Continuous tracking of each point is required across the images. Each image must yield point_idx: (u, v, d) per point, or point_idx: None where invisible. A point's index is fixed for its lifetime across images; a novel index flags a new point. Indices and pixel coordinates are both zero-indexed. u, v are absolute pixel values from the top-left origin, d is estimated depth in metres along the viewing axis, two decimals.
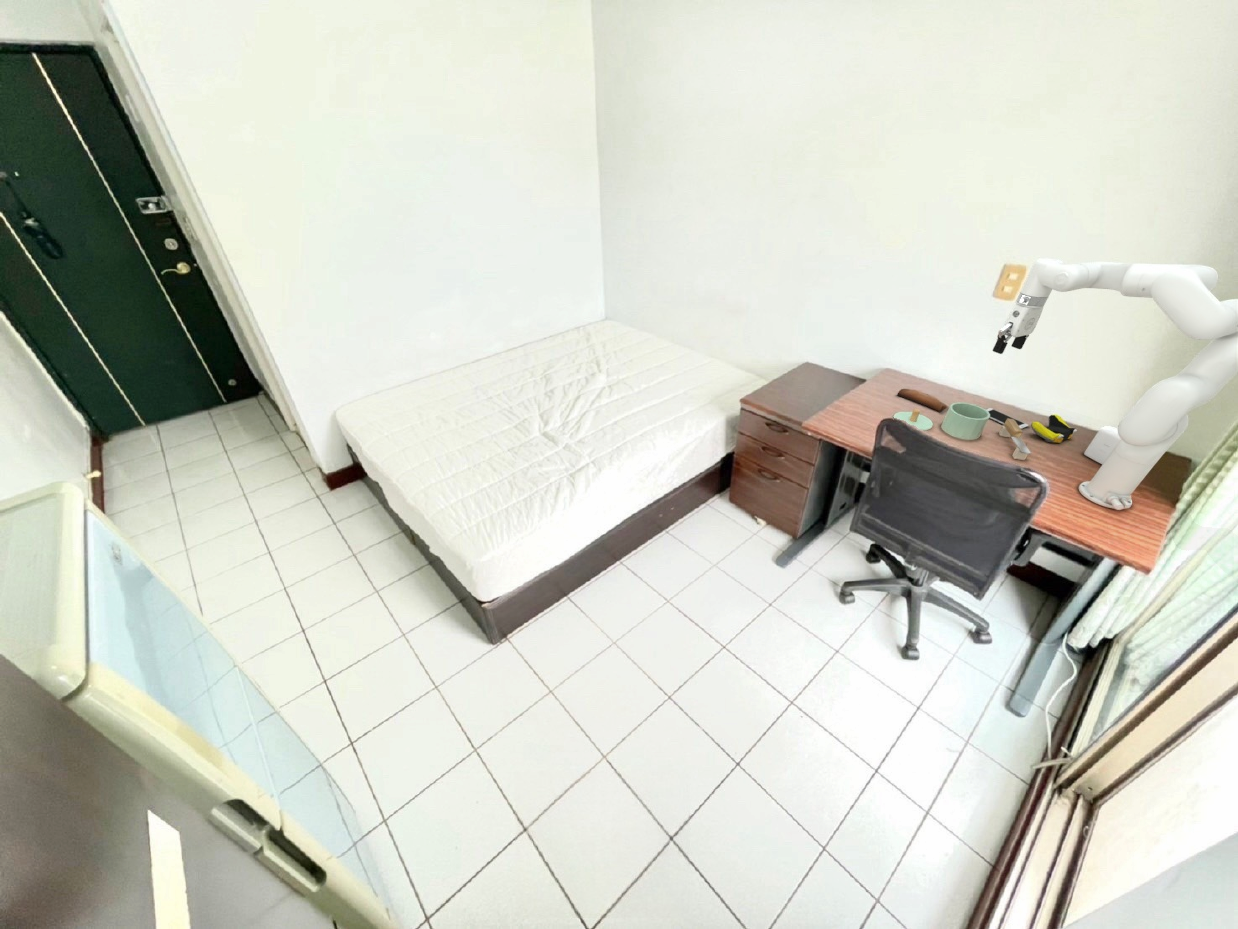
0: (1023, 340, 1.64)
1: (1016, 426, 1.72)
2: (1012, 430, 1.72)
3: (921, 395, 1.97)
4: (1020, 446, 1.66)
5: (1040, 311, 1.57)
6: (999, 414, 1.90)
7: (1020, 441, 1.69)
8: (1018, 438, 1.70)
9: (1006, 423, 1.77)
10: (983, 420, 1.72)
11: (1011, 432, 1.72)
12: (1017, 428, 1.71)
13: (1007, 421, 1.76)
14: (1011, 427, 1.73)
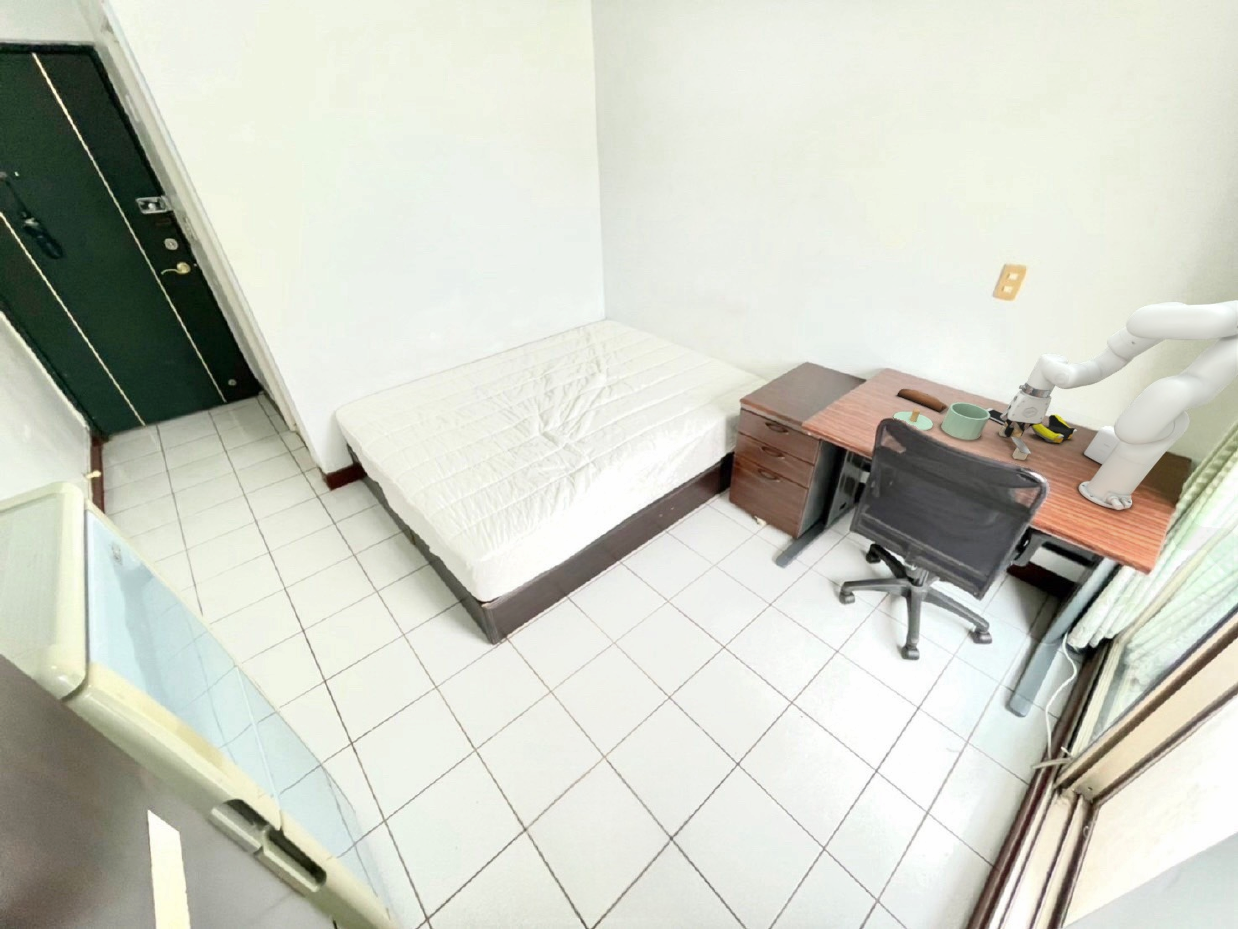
0: None
1: (1016, 426, 1.72)
2: None
3: (921, 395, 1.97)
4: (1020, 446, 1.66)
5: (1045, 403, 1.63)
6: (999, 414, 1.90)
7: (1020, 441, 1.69)
8: (1018, 438, 1.70)
9: (1006, 423, 1.77)
10: (983, 420, 1.72)
11: None
12: (1017, 428, 1.71)
13: None
14: None
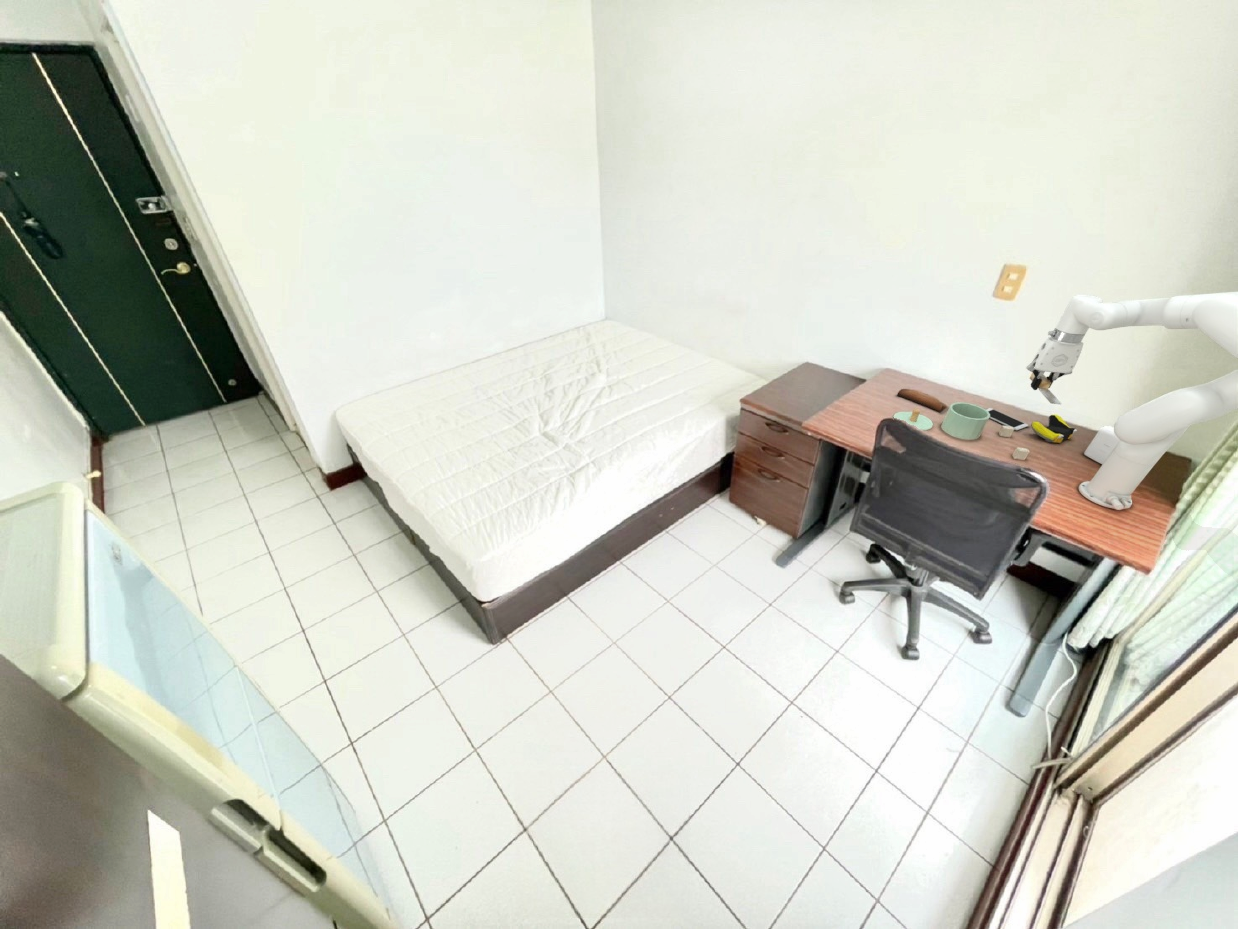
0: None
1: (1044, 378, 1.61)
2: None
3: (921, 395, 1.97)
4: (1049, 397, 1.55)
5: (1076, 350, 1.51)
6: (999, 414, 1.90)
7: (1049, 392, 1.58)
8: (1046, 390, 1.59)
9: (1032, 376, 1.66)
10: (983, 420, 1.72)
11: None
12: (1045, 379, 1.60)
13: (1033, 374, 1.65)
14: None
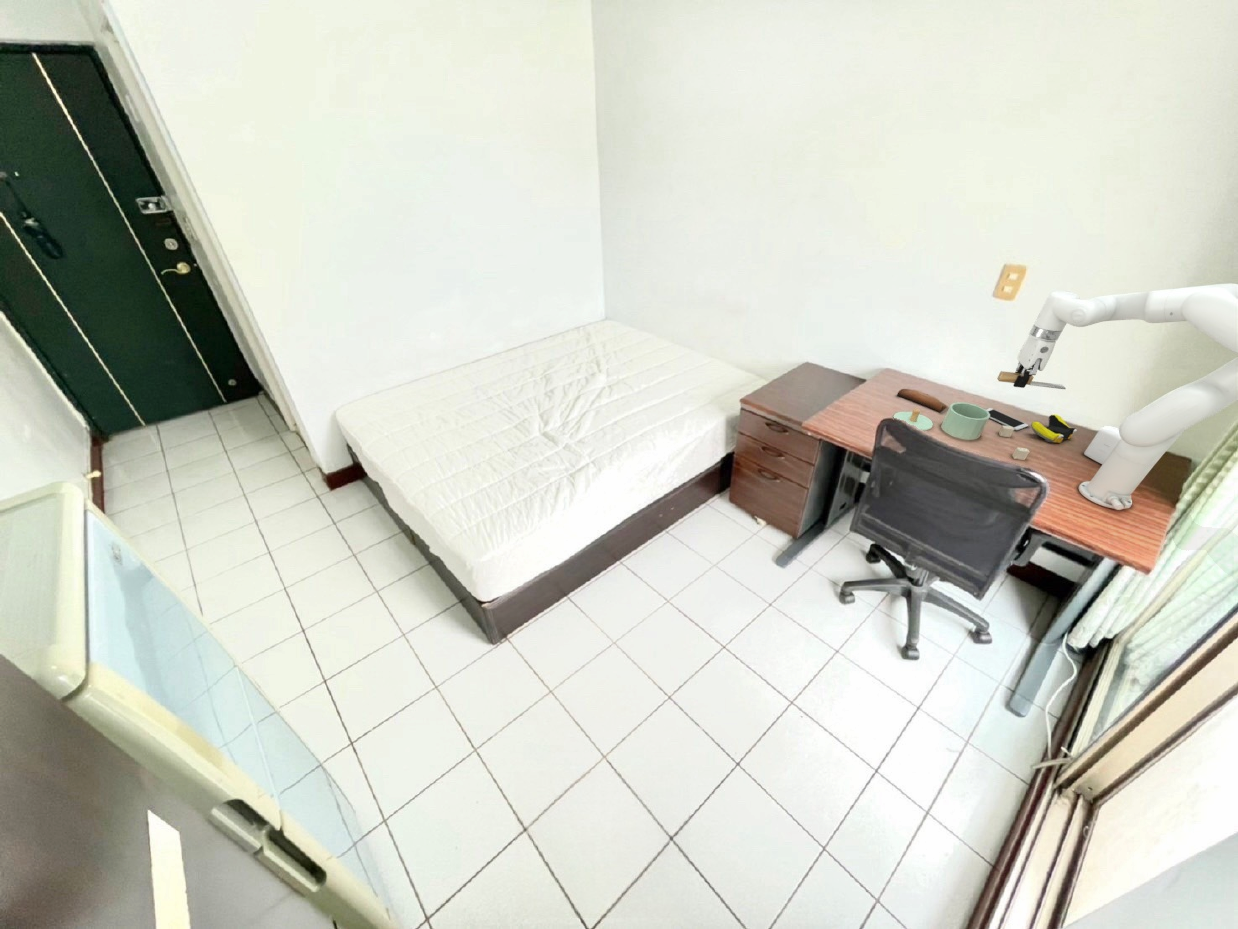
0: None
1: None
2: None
3: (921, 395, 1.97)
4: (1052, 385, 1.60)
5: None
6: (999, 414, 1.90)
7: (1038, 382, 1.62)
8: None
9: (1005, 378, 1.63)
10: (983, 420, 1.72)
11: None
12: None
13: (1006, 376, 1.62)
14: None
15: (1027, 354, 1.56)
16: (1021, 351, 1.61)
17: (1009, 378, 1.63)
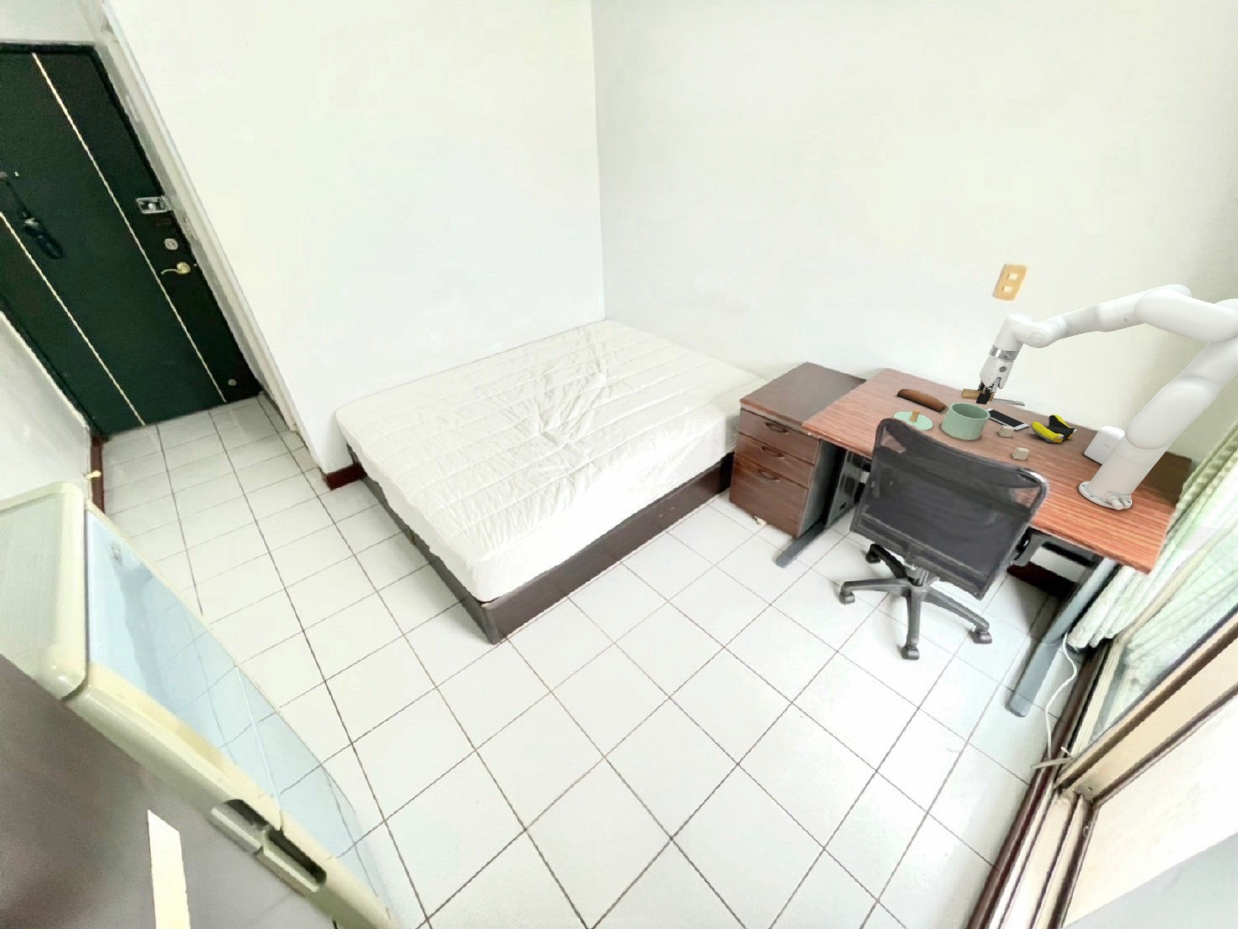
0: None
1: None
2: None
3: (921, 395, 1.97)
4: (1012, 402, 1.66)
5: None
6: (999, 414, 1.90)
7: (999, 399, 1.68)
8: (992, 399, 1.69)
9: (967, 395, 1.69)
10: (983, 420, 1.72)
11: None
12: None
13: (968, 393, 1.68)
14: None
15: (987, 373, 1.62)
16: (982, 369, 1.67)
17: (971, 395, 1.68)
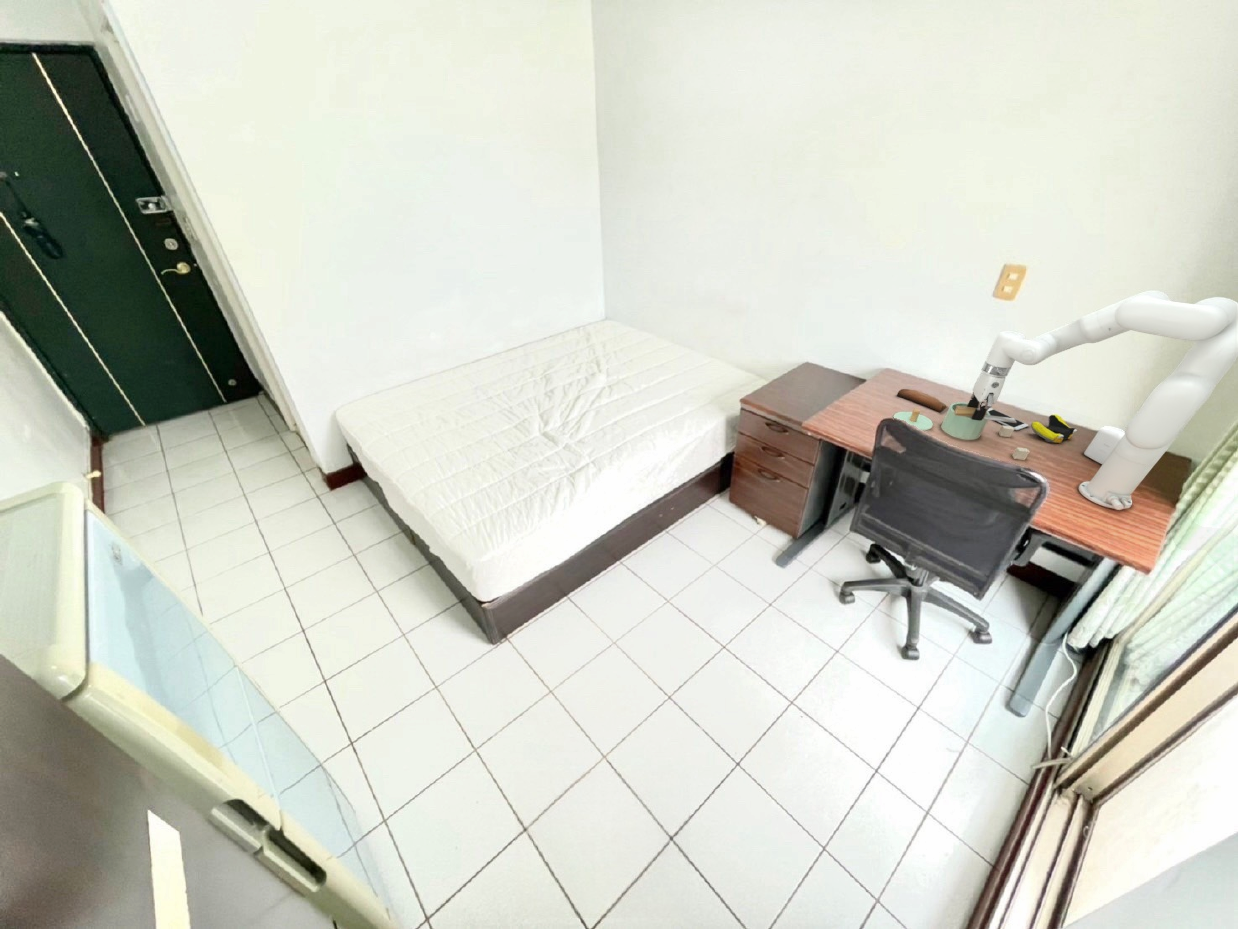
0: (978, 403, 1.73)
1: (975, 408, 1.72)
2: None
3: (921, 395, 1.97)
4: (1004, 419, 1.70)
5: None
6: (999, 414, 1.90)
7: (991, 416, 1.72)
8: (985, 415, 1.72)
9: (960, 412, 1.73)
10: (983, 420, 1.72)
11: None
12: None
13: (961, 410, 1.72)
14: None
15: (980, 388, 1.66)
16: (975, 384, 1.70)
17: (964, 412, 1.72)
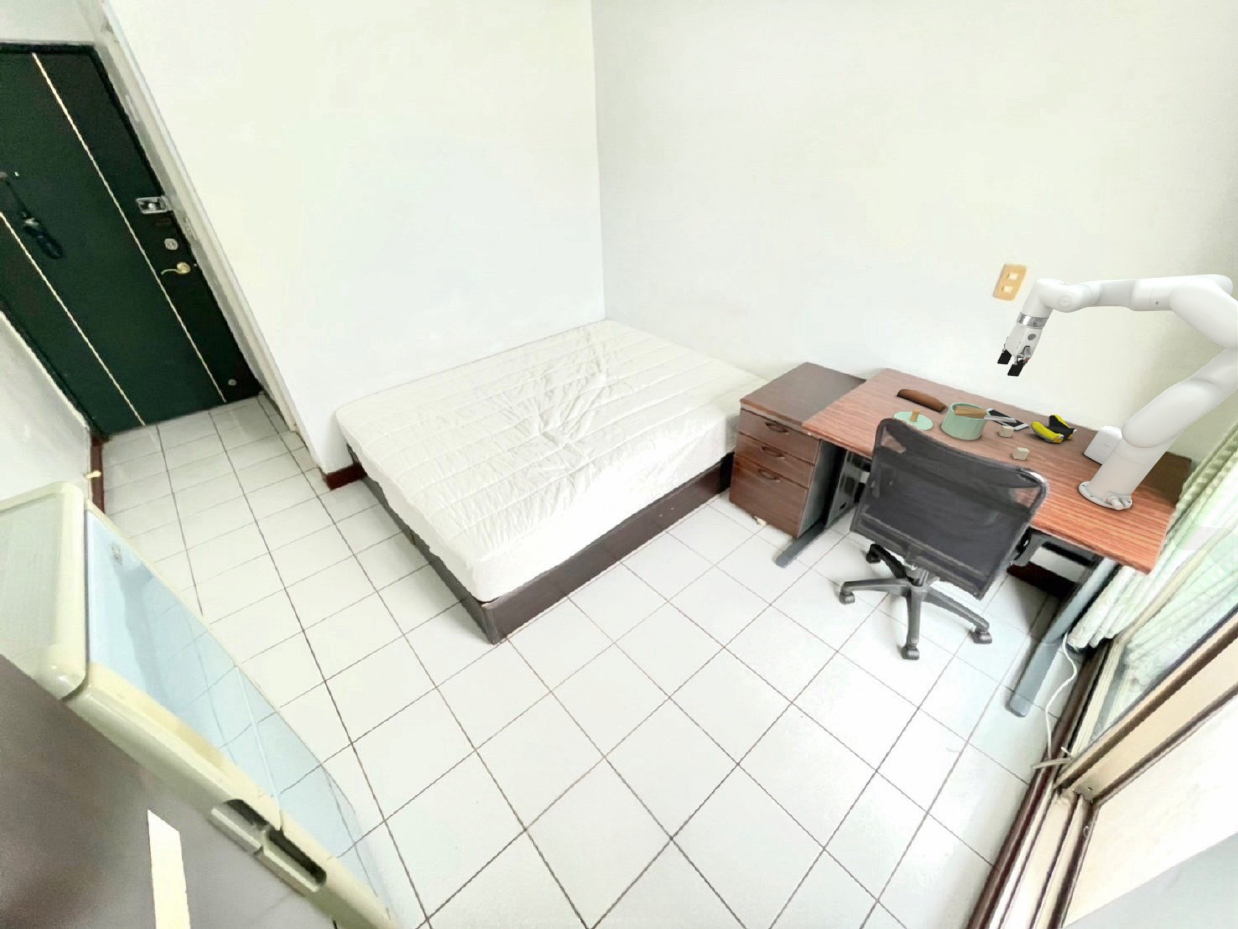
0: (1010, 356, 1.65)
1: (975, 408, 1.72)
2: (980, 413, 1.71)
3: (921, 395, 1.97)
4: (1004, 419, 1.70)
5: None
6: (999, 414, 1.90)
7: (991, 416, 1.72)
8: (985, 415, 1.72)
9: (960, 412, 1.73)
10: (983, 420, 1.72)
11: (979, 415, 1.71)
12: (979, 409, 1.71)
13: (961, 410, 1.72)
14: (975, 412, 1.71)
15: (1014, 342, 1.56)
16: (1008, 339, 1.61)
17: (964, 412, 1.72)
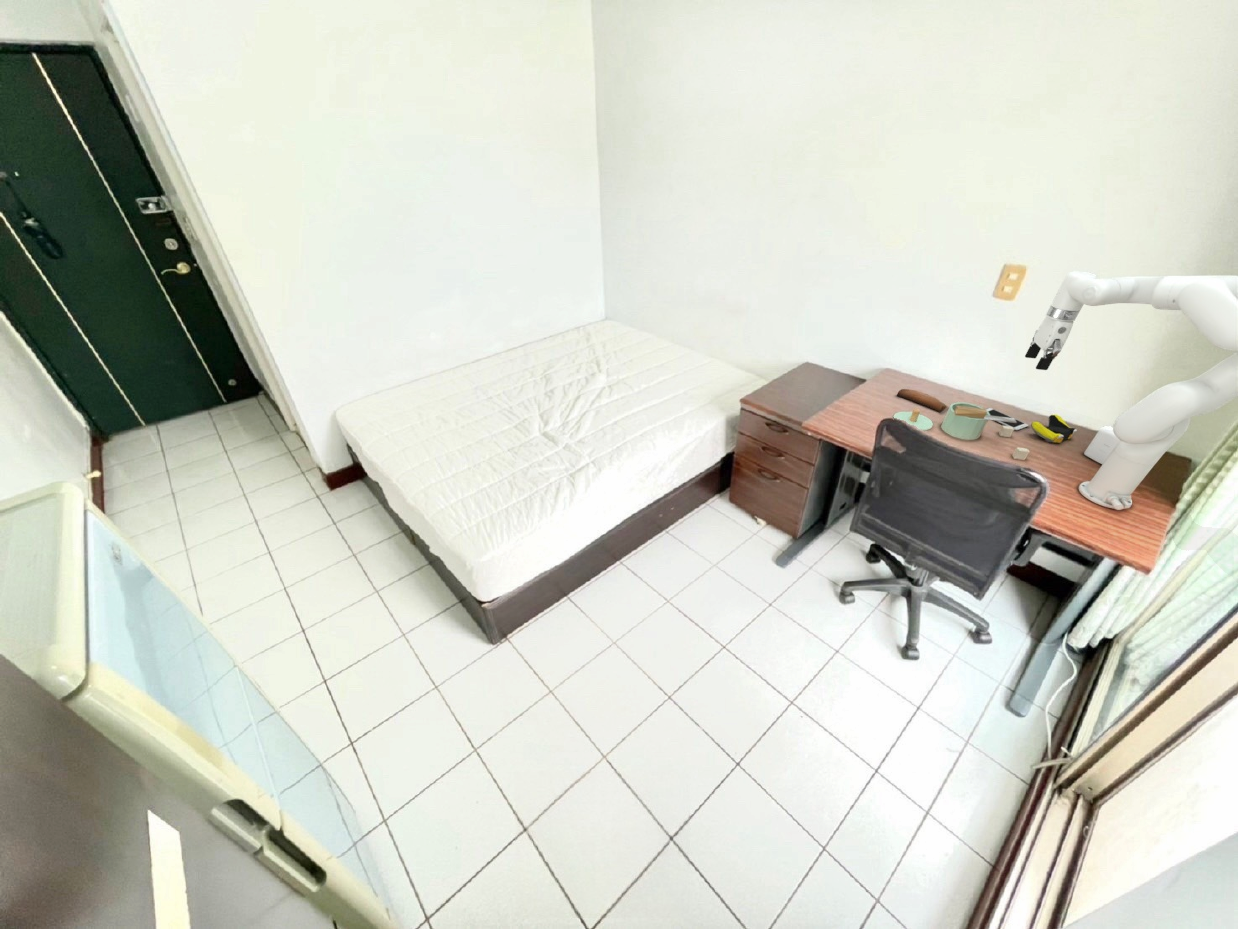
0: (1039, 350, 1.65)
1: (975, 408, 1.72)
2: (980, 413, 1.71)
3: (921, 395, 1.97)
4: (1004, 419, 1.70)
5: None
6: (999, 414, 1.90)
7: (991, 416, 1.72)
8: (985, 415, 1.72)
9: (960, 412, 1.73)
10: (983, 420, 1.72)
11: (979, 415, 1.71)
12: (979, 409, 1.71)
13: (961, 410, 1.72)
14: (975, 412, 1.71)
15: (1044, 335, 1.57)
16: (1037, 333, 1.61)
17: (964, 412, 1.72)
